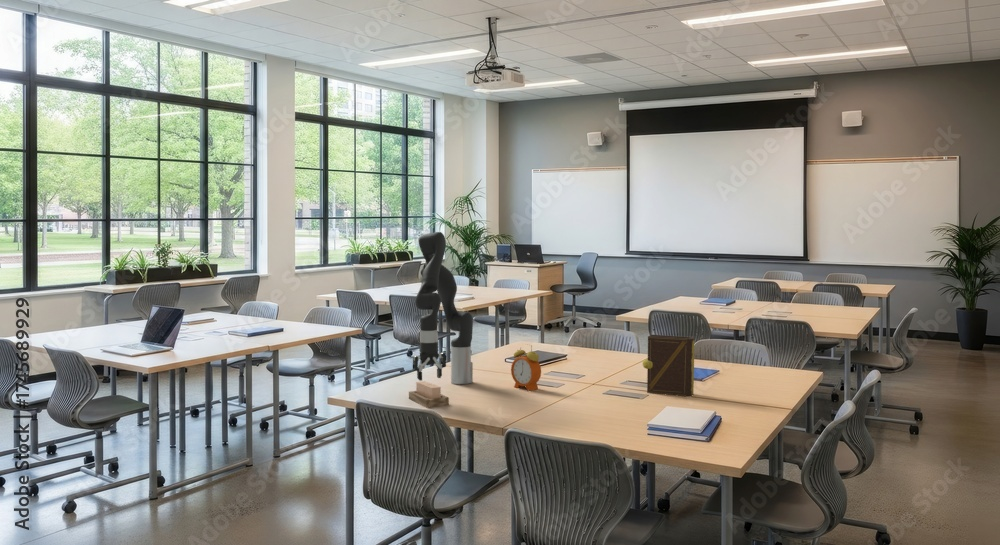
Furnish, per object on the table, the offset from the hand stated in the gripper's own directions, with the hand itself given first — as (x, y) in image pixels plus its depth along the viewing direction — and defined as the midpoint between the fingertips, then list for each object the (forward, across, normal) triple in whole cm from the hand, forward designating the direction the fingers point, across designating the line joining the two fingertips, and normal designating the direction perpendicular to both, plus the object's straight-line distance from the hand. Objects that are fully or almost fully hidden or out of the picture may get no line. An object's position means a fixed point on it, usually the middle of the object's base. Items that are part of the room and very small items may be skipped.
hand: (429, 379), depth 321 cm
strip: (+8, +1, 0) cm, 8 cm away
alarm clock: (+11, -48, -2) cm, 50 cm away
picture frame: (+10, +1, 0) cm, 10 cm away
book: (+11, -97, +38) cm, 105 cm away
